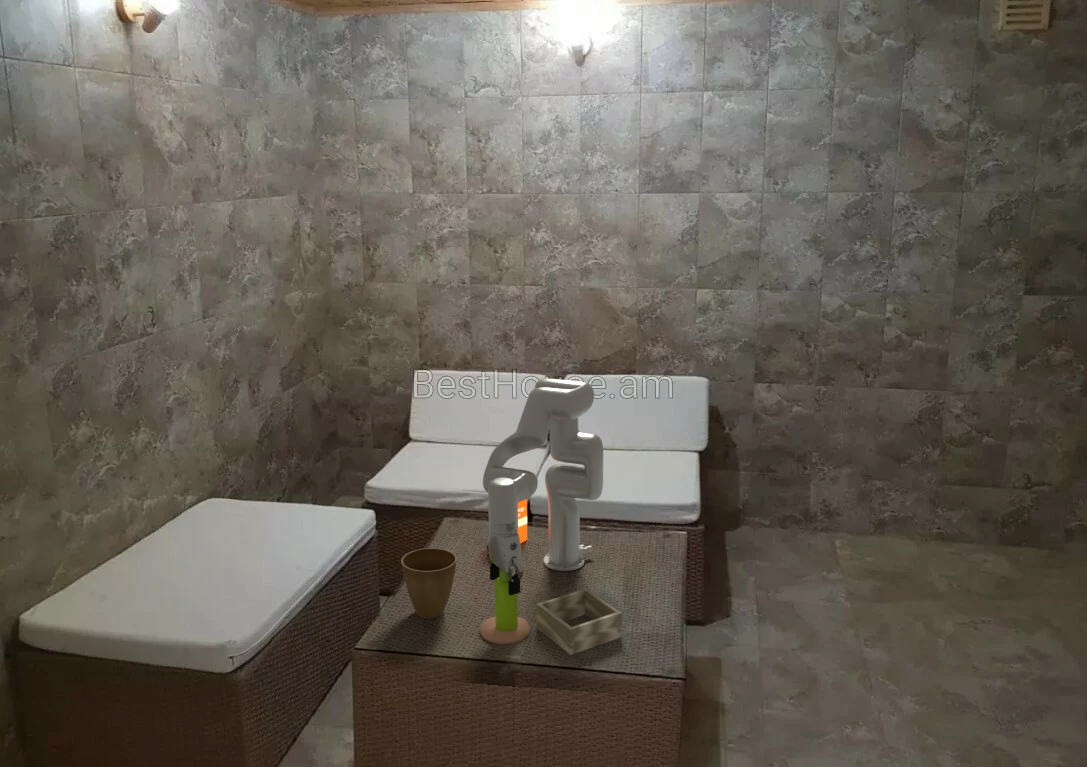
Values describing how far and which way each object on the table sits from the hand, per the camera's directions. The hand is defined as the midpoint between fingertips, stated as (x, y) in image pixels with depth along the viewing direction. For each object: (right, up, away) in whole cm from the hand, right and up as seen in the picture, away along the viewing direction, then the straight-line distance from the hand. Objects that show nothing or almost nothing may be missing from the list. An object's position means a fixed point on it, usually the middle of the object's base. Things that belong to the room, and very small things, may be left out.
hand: (505, 586), depth 236 cm
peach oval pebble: (0, -13, +3) cm, 13 cm away
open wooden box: (+19, -13, +2) cm, 23 cm away
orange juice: (-1, +1, +59) cm, 59 cm away
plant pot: (-21, -10, +13) cm, 27 cm away
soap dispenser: (0, -11, +3) cm, 12 cm away
